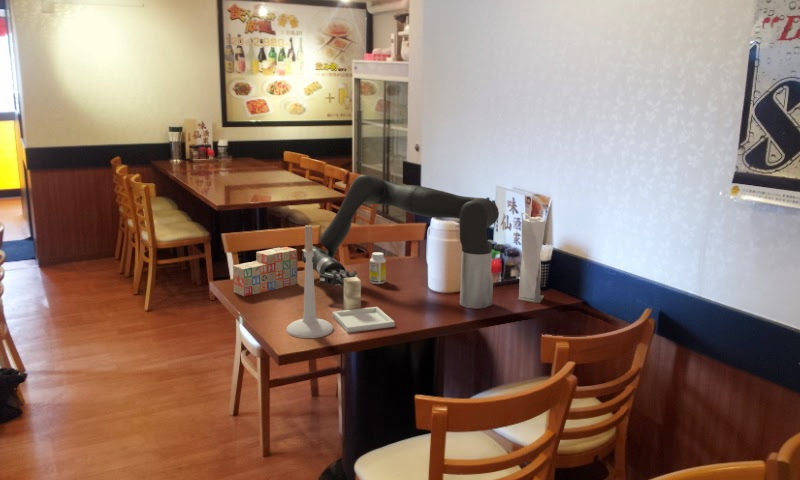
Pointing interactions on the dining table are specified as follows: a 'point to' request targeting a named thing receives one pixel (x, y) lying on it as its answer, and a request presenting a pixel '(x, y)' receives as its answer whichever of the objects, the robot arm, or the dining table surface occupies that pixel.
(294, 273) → the stack of blocks
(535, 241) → the skyscraper
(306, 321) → the candlestick
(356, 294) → the block
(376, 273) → the supplement bottle
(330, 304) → the dining table surface
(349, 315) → the tray
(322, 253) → the robot arm
